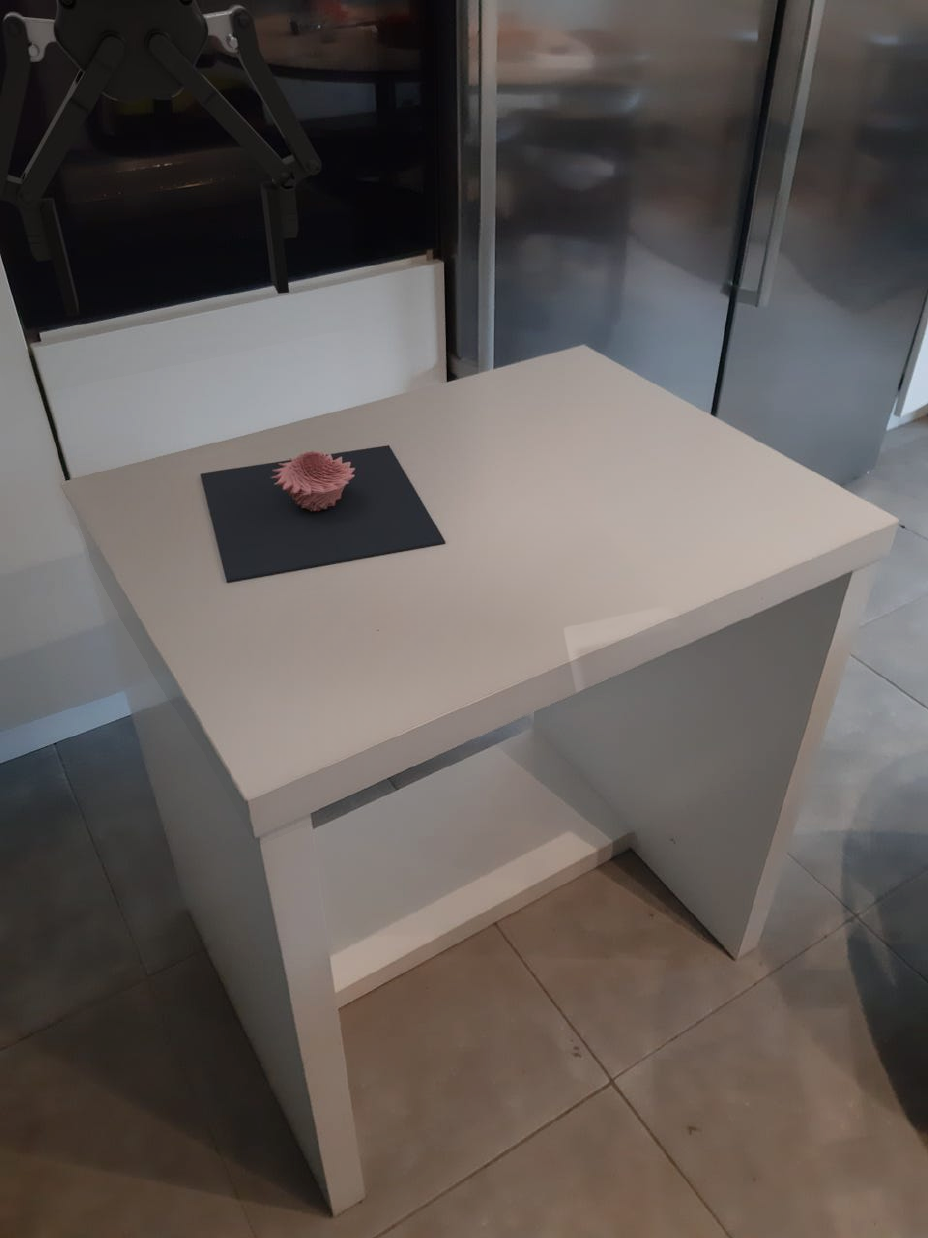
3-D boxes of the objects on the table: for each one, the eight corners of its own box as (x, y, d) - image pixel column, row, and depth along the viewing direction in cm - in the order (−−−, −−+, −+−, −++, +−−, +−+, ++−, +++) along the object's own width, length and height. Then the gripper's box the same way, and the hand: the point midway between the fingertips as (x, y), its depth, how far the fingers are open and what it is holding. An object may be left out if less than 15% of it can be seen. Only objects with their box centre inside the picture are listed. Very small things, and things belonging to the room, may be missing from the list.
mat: (226, 582, 86) (226, 580, 85) (200, 475, 101) (200, 473, 100) (445, 543, 91) (445, 540, 90) (389, 447, 106) (389, 444, 105)
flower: (271, 528, 92) (263, 475, 89) (279, 485, 98) (273, 435, 95) (355, 526, 92) (351, 474, 89) (358, 484, 99) (355, 433, 95)
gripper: (324, -99, 59) (348, 262, 72) (-136, -96, 52) (-18, 299, 65) (353, -95, 53) (374, 295, 66) (-159, -92, 47) (-25, 340, 60)
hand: (179, 298), depth 66 cm, fingers open, 13 cm apart
